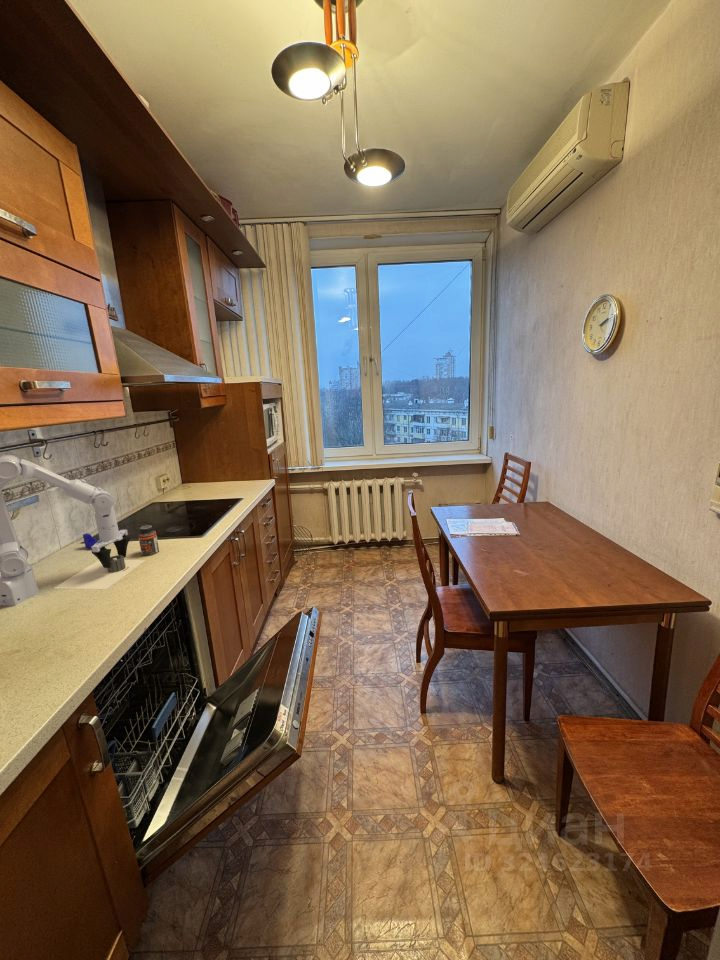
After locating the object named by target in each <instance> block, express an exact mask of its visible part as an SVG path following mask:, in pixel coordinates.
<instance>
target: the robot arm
mask: <svg viewBox="0 0 720 960" xmlns="http://www.w3.org/2000/svg"><path fill="white" fill-rule="evenodd" d="M20 476H21V478H20V479H21V480H25V479H26V480H28V479H37V480H39V481H42V482H44V483H46V484H49V485H52V486H55V487H58V488H60V489H62V490H63V491H64V494H65V496H68V497H70V498H73V499H75V500H77V501H80V502H82V503H84V504H91V506H92V507H93V509H94V519H95V523H96V529H97V532H98V537H99V539H98V542H97V543H96V544H95V545H93V546H92V547H91V548H92V550H90V551H91V554H93V555H94V557H96V559H98V560H99V561H100V562H101V564H102V565H103V567H104V568H110V567H111V561H110V557H111V552H112V549H111V548H107V547H108V546H109V545H111V544H113V545H114V546H115V550H116V551H117V555H122V556H124V559H125V558H126V557H127V552H128V551H127V550H128V546H129V545H128V544H129V542H130V540H131V538H130V537H131V536H129V533H128V529H120V530H119V527H118V521H117V516H116V511H115V510H114V509H115V507H114V502H115V500H114V499H113V497H112V495H111V493H110V492H109V491H107V490H106V489H102V488H101V487H100V486H97V487H96V486H93V485H91V484H89V483H87V480H85V479H83V478H82V479H78V478H75V479H68V478H65V477H64V476H62V475H59V474H57V473H56V472H53V471H51V470H49V469H47V468H45V467H43V466H41V465H38V464H36V463H35V462H34V463H33V462H31V461H29V460H27V459H23V458H21V459H20V458H19V456H18V457H17V456H15V455H12V454H4V455H1V456H0V606H11V607H12V606H13V607H14V606H15V607H17V605H19V604H21V603H23V602H24V601H26V600H28V599H30V598H32V597H35V596H36V595H38V593H39V591H40V589H39V587H38V583H37V579H36V575H35V571H34V568H33V565H32V564H30V563H29V562H28V558H29V552H28V550H27V548H25V547H23V545H22V544H21V541H20V540H19V538H18V535H17V533H16V529H15V526H14V524H13V520H12V518H11V515H10V511H9V510H8V506H7V503H6V501H5V498H4V495H3V493H2V490H3V489H4V487H6V486H7V485H8V484H9V483H11V482H12V481H14V480H16V479H17V478H19V477H20Z"/></svg>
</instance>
